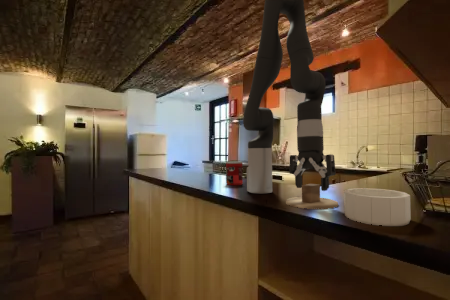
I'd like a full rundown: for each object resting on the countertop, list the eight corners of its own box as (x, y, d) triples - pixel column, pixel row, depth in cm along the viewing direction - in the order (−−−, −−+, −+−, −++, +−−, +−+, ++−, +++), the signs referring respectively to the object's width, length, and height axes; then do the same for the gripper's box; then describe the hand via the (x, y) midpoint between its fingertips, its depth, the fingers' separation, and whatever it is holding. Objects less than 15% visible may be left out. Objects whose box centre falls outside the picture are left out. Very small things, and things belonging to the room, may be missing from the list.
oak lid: (275, 204, 77) (275, 184, 77) (304, 197, 86) (303, 180, 86) (320, 213, 65) (320, 190, 65) (347, 205, 74) (347, 185, 74)
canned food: (224, 183, 123) (223, 161, 123) (239, 183, 126) (238, 161, 126) (229, 185, 116) (228, 162, 116) (245, 184, 118) (244, 161, 118)
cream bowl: (334, 217, 60) (334, 192, 60) (359, 208, 68) (358, 186, 68) (397, 230, 50) (396, 200, 50) (417, 218, 58) (416, 192, 58)
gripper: (283, 137, 79) (284, 188, 78) (325, 133, 67) (326, 193, 67) (297, 137, 83) (299, 185, 83) (339, 134, 72) (340, 190, 72)
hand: (311, 189), depth 75 cm, fingers open, 8 cm apart
